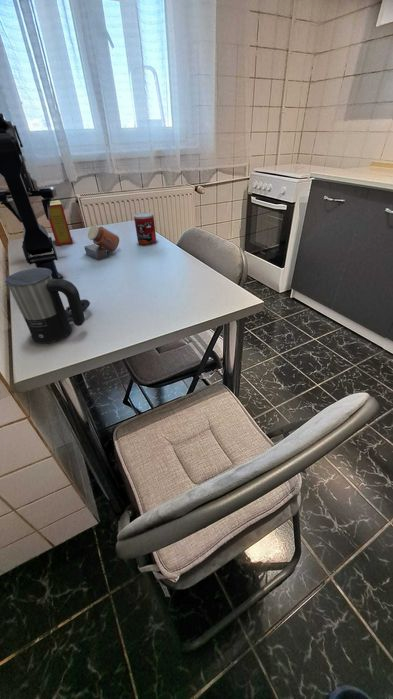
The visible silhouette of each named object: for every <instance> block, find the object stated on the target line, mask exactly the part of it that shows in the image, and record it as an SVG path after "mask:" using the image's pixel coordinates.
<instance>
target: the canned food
mask: <svg viewBox="0 0 393 699" xmlns="http://www.w3.org/2000/svg"><path fill="white" fill-rule="evenodd" d="M133 219H134V226H135V231H136V238H137V243H138V245H141V246H151V245H155V244H156V242H157V235H156V234H157V233H156V225H155V216H154V214H153V213H152V212H139V213H135V214H134V215H133Z"/></svg>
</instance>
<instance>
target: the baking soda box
mask: <svg viewBox="0 0 393 699" xmlns="http://www.w3.org/2000/svg"><path fill="white" fill-rule="evenodd" d="M48 223H49V225H50V228H51V232H52V234H53V237H54V241H55V244H56V246H57V247H60V246H65V245H71V244H74V242H73V238H72V235H71V231H70V228H69V224H68V220H67V217H66V214H65V210H64V207H63V204H62V202H61V201H60V200H59V199H58V200H51V201H50V214H49V220H48Z"/></svg>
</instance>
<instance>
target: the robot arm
mask: <svg viewBox="0 0 393 699" xmlns="http://www.w3.org/2000/svg"><path fill="white" fill-rule="evenodd" d="M22 148H24V145H23V142H22V139H21V136H20V133H19V129H18V126H17V125H14V123H13V121H12V120H6V118H5V115H4V112H0V175H1V176H2V177H3V179H4V182H5V184H6V187H7V188H8V189H0V205H3V206H4V207H6V208H7V209H8V210H9V211H10V212H11V213H12V214H13V216H14V217H15V218H16V219H17V220H18V221H19V223H22V225H23V228H22V238H23V240H22V246H21V248H22V252H23V255H24V258H25V260H26V263H27V264H28V265H30V266H31V265H35V268H47V269H50V270H51V272H52V273H51V276H52V279H63V278H64V276H63V274H60V273H59V271H58V269H57V265H56V263H55V261H58V260H59V258H58V254H57V251H56V248H55V244H54V241H53V239H52V238H53V237H52V236H50V235H49V234H48V231H47V229H46V227H45V226H44V225H43V224H40V223H39V221H38V219H37V216H36V213H35V210H34V207H33V205H32V201H31V199H30V198H33V197H41V198H42V199H41V204H42V208H43V212H44V213H45V214H44V215H45V217H46V219H47V221H49V214H50V201H53V199H54V198H56V197H57V196H58V192H57V190H56V188H55V186H42V187H40V188H38V182H37V180H36V179H34V178H32V177H31V174H30V172H29V171H28V169H27V165H26V157H25V154H24V153H23V151H22Z"/></svg>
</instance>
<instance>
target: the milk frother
mask: <svg viewBox="0 0 393 699" xmlns="http://www.w3.org/2000/svg"><path fill="white" fill-rule="evenodd" d="M51 273H52V272H51V270H50V269H47V268H36V267H35V268H34V267H33V268H32V267H31V268H27V269H22V270H19V271H17V272H14V273H12V274H10V275H8V276H7V277H6V278H5V279H4V283H5V285H7V287H8V289H9V291H10V292H11V295H12V296H13V299H14V301H15V303H16V305H17V307H18V309H19V311H20V314H21V315H22V317H23V319H24V322H25V323H26V326H27V328H28V330H29V333H30V335H31V336H30V338H31V340H32V341H33V342H35V343H36V344H51V343H56V342H58V341H60V340H63V339H64V338H66V337H67V336H69V334H70V333H72V329H73V327H72V325H71V322H73V323H74V325H75V326H76V327H80V326H83V324H84V322H85V321H86V318H85V317H86V316H85V313H84V312H85V311H86V310H87V309H88V308H89V307H90V305H91V302H90V300H88V299H86V298H85V299H81V296H80V293H79V289H78V288H77V286H76V285H74V284H73V283H72V282H71V281H69V280H67V279H63V278H61V279H52V276H51ZM59 292H60V293H62V294H64V295H65V297H66V300H67V303H68V306H66V307H65V306H64V303H63V301H62V298H61V295H60V293H59Z"/></svg>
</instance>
